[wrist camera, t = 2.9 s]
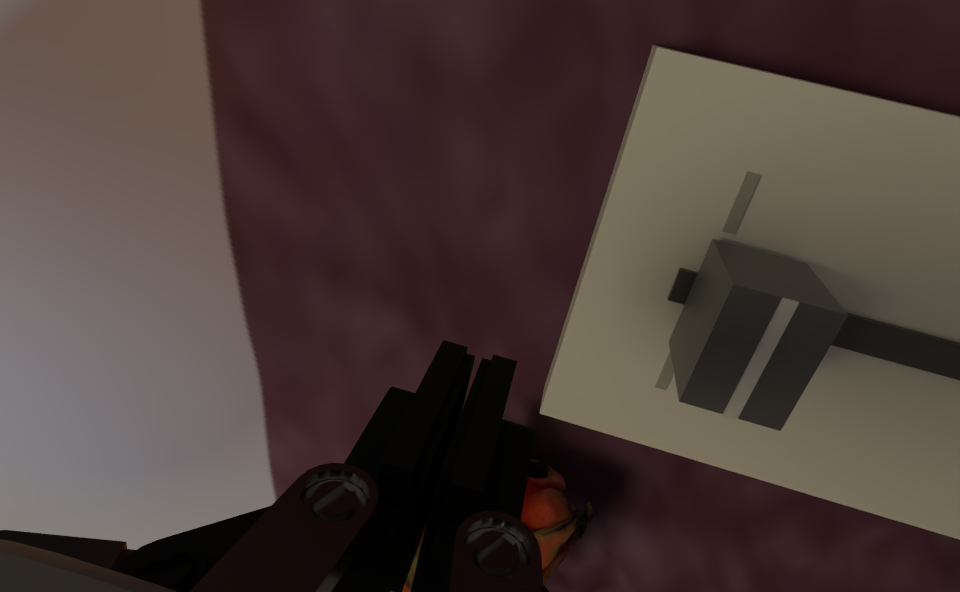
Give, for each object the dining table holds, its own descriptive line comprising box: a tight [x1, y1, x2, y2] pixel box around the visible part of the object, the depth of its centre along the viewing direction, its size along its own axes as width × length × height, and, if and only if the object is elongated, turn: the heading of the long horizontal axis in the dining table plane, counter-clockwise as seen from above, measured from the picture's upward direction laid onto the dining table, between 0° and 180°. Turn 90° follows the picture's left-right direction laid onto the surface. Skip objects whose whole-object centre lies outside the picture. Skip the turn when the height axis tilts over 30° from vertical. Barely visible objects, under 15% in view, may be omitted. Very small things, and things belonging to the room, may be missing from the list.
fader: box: [669, 239, 848, 431], centre depth 17 cm, size 4×3×4 cm
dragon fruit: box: [391, 459, 593, 592], centre depth 25 cm, size 8×8×12 cm
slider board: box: [540, 45, 960, 540], centre depth 20 cm, size 14×26×2 cm, turn 78°
